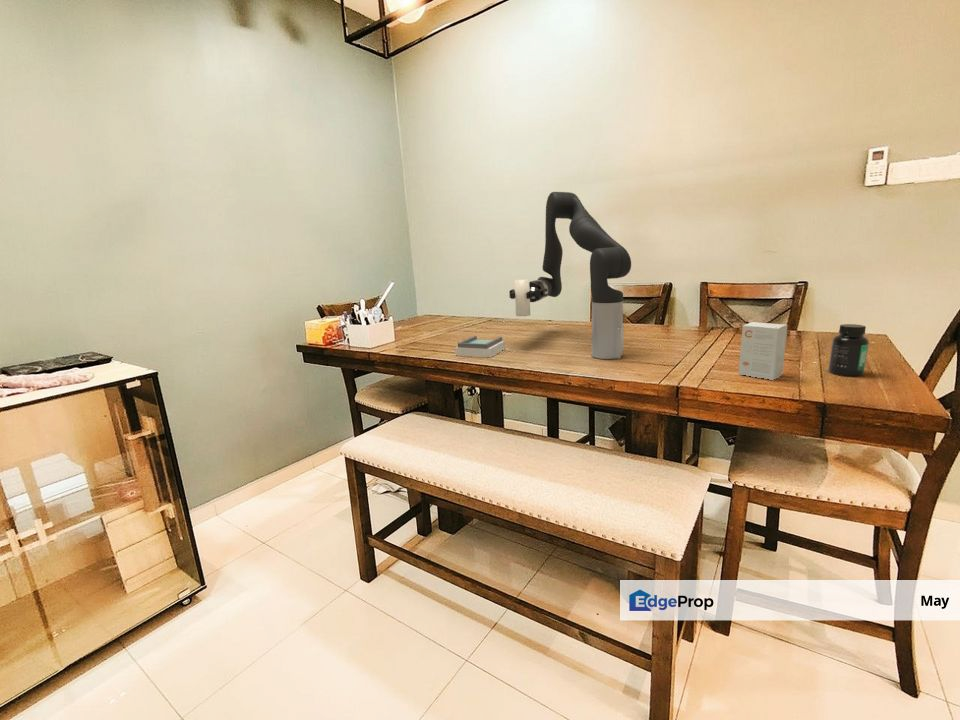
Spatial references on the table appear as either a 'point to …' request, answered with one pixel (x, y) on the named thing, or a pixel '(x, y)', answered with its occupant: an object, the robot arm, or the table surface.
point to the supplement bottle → (849, 351)
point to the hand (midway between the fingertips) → (519, 295)
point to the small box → (762, 350)
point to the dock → (480, 347)
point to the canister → (522, 298)
